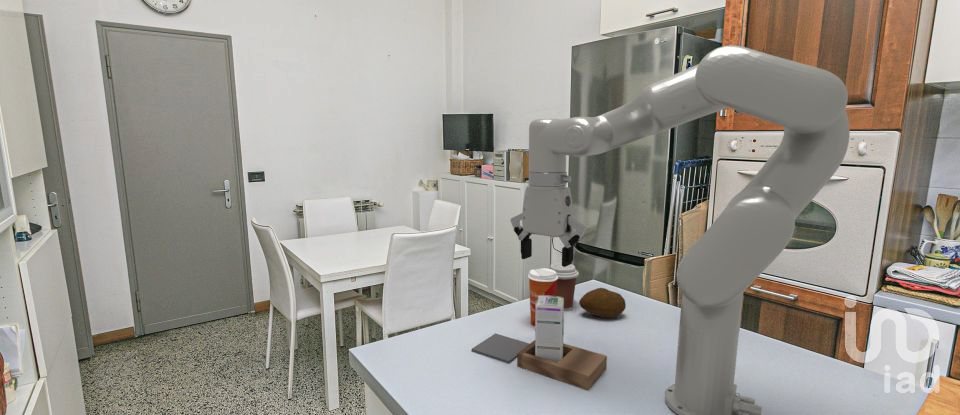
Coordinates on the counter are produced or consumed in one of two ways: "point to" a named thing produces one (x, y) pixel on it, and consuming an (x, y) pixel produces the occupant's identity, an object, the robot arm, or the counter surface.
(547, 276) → the paper cup
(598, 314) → the potato
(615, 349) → the counter surface
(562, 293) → the coffee cup
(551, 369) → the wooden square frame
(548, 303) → the syrup box
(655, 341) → the counter surface
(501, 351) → the rubber mat
